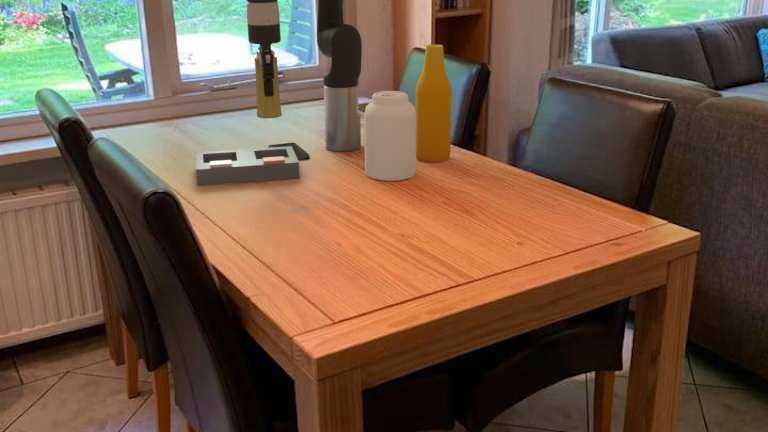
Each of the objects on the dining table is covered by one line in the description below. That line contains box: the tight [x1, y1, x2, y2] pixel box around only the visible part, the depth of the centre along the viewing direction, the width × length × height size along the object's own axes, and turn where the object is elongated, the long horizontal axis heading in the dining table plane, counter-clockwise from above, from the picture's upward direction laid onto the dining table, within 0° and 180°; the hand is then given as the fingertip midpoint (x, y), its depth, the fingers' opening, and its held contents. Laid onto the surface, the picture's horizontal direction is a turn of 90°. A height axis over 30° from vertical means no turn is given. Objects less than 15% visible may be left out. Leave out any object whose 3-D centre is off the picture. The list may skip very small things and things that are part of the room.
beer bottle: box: [415, 44, 453, 164], centre depth 195 cm, size 9×9×29 cm
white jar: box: [363, 90, 417, 182], centre depth 184 cm, size 12×12×20 cm
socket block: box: [195, 146, 301, 187], centre depth 188 cm, size 24×15×5 cm, turn 103°
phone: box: [267, 142, 311, 161], centre depth 205 cm, size 8×1×15 cm
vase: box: [254, 55, 283, 119], centre depth 184 cm, size 6×6×14 cm
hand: (267, 93), depth 185 cm, fingers closed on vase, 5 cm apart
